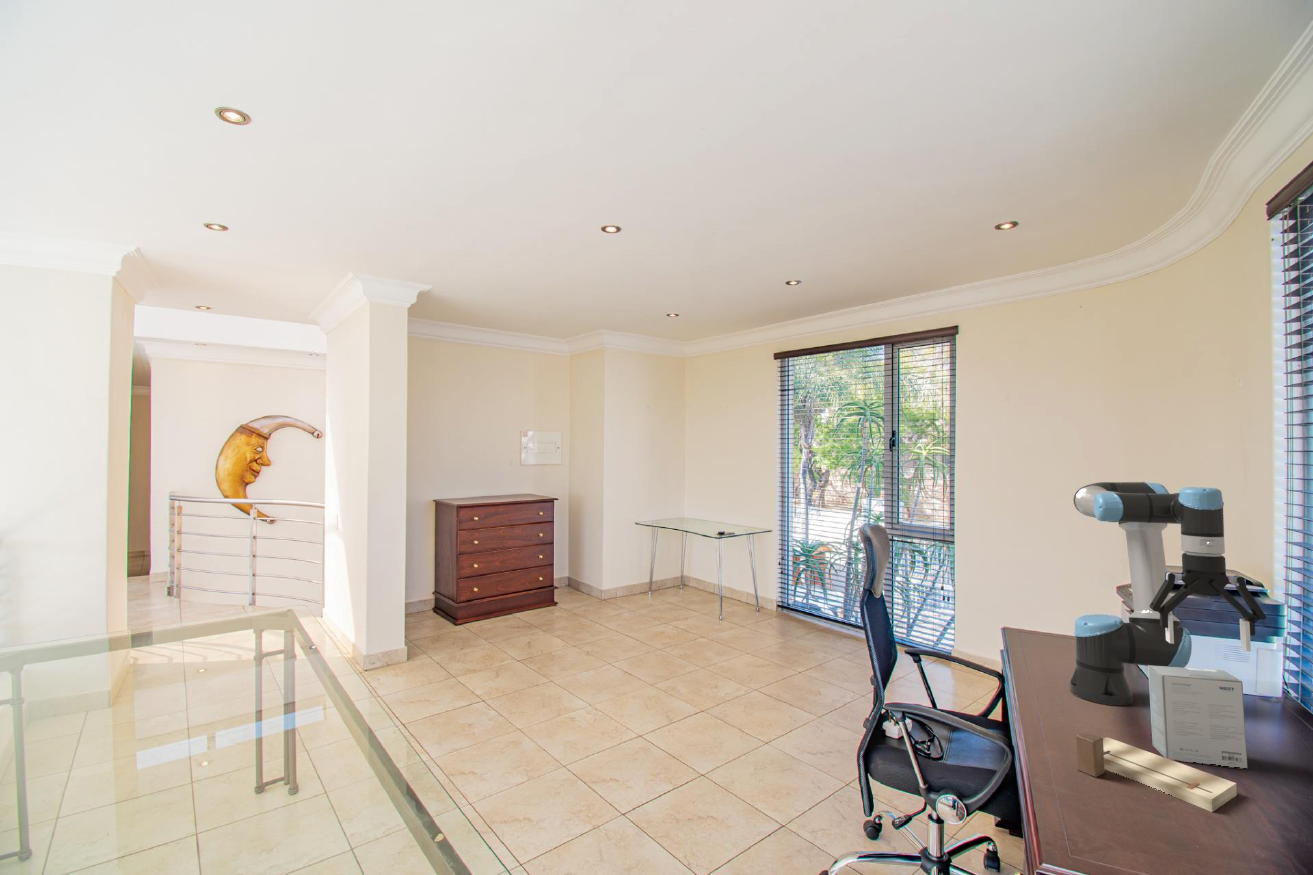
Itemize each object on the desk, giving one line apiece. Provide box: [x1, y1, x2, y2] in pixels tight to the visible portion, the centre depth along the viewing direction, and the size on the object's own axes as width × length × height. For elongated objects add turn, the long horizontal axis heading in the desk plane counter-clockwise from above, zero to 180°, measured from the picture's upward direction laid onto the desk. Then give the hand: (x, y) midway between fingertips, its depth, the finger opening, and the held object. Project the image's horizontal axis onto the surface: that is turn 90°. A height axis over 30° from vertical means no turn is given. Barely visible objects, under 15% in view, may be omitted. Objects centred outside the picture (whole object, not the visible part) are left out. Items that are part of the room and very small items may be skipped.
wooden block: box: [1075, 731, 1105, 778], centre depth 136 cm, size 4×4×8 cm
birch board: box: [1102, 736, 1238, 813], centre depth 133 cm, size 24×12×3 cm, turn 28°
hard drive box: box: [1147, 665, 1248, 769], centre depth 142 cm, size 16×8×20 cm, turn 71°
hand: (1207, 645), depth 138 cm, fingers open, 13 cm apart
